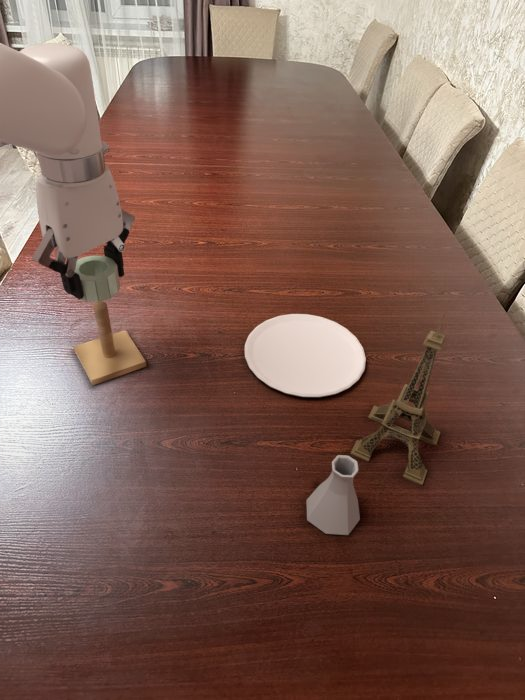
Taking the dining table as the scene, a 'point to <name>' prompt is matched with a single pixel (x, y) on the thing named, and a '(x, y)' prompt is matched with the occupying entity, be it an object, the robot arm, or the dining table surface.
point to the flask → (336, 499)
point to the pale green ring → (98, 278)
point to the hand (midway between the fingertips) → (95, 282)
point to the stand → (108, 351)
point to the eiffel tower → (407, 415)
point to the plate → (305, 355)
